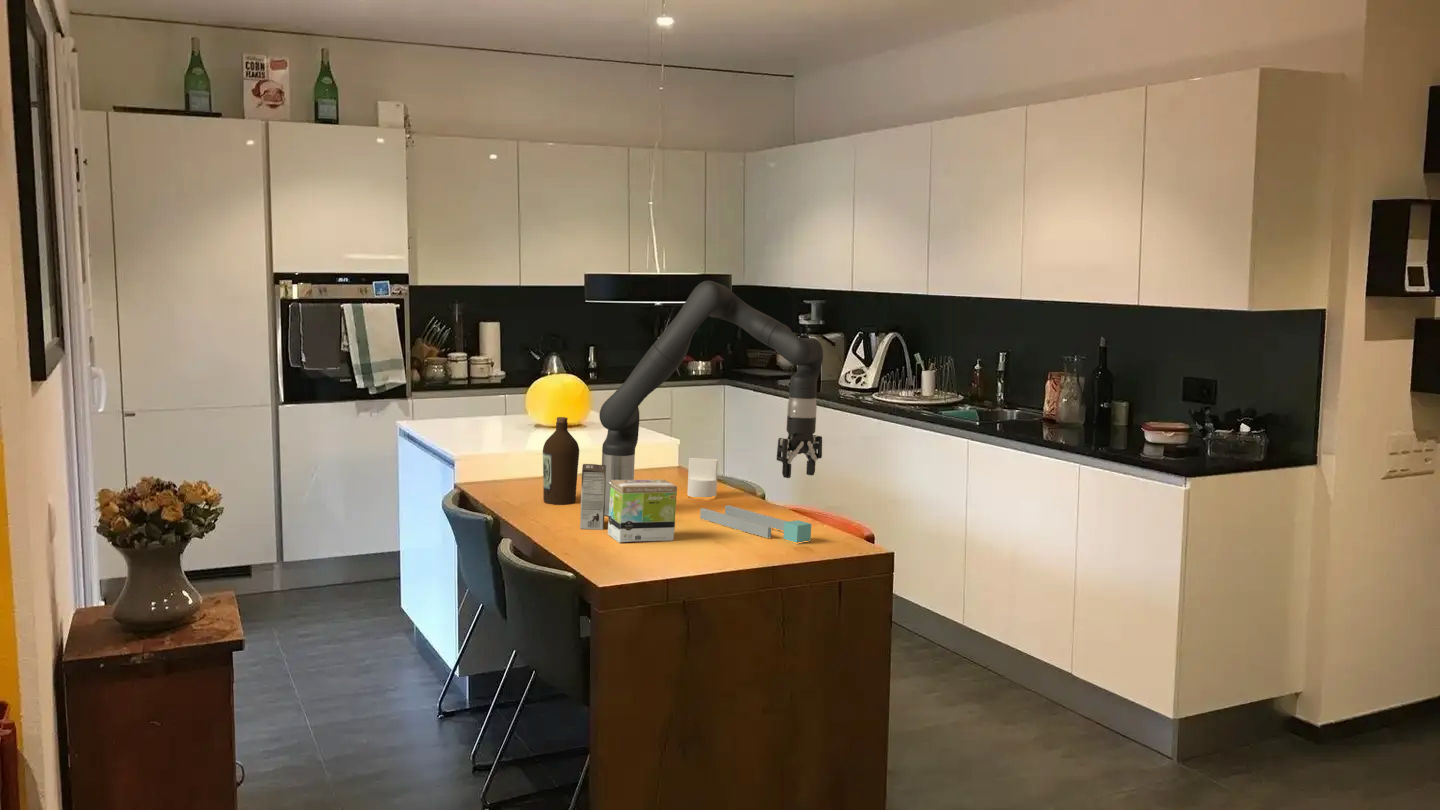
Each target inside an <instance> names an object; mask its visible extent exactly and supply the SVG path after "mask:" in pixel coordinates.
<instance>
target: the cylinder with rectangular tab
mask: <svg viewBox="0 0 1440 810" xmlns="http://www.w3.org/2000/svg"><path fill="white" fill-rule="evenodd" d="M718 463H719V460H718V459H717V458H702V457H689V458H688V469H687V471H688V472H687V473H688V475H687V476H688V477H687V492H686V493H687V495H688V496H691V497H712V496H716V497H717V488H718V487H717V485H718V469H719V468H718V467H719V466H718V465H719V464H718ZM687 495H686V496H687Z"/></svg>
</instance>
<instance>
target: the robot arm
mask: <svg viewBox="0 0 1440 810" xmlns="http://www.w3.org/2000/svg"><path fill="white" fill-rule="evenodd" d="M708 317H710V318H717V319H720V320H724V321H726V322H729V323H731V324H734V325H736V326H738V327H740V328H741V329H742V330H744V331H745V332H746V333H748V334H749V335H750V336H751V337H753V338H754V339H756V340H757V341H759V342H760V343H763V344H764V345H766V346H767V347H769V348H771V349H772V350H775V352H777V353H778V354H779V356H781V357H782V358H783V359H785V360H786V361H787V362H789V363H791V364H793V365H796V366H797V369H796V373H794V374H793V375H792V376H791V377H790V381H789V389H788V390H789V391H788V394H789V395H788V403H787V415H786V417H787V418H786V433H788V435H787V438H785V437H779V438H778V439H777V447H776V448H777V449H776V450H777V451H776V461H778V462H781V463H782V468H781V469H782V470H781V471H782V472H781V474H782V476H783V477H782V478H786V479H790V478H791V477H792V462H793V459H794V458H797V455H801V454H803V455H805V457H806V459H807V460H806V473H805V474H806V475H808V476H811V477H812V476H814V475H815V473H816V462H817V460H819V459H822V458H823V437H822V436H821V435H817V434H816V435H815V433H816V425H817V390H818V389H817V388H818V387H817V386H818V383H817V382H818V379H819V376H820V373H821V368H822V365H823V360H824V348H823V346H822V344H821V342H820V341H819V340H818V339H816V338H813V337H799V336H797V335H796V334H794V333H793V330H792V329H791V328H790V327H789V326H787V325H786V324H784V323H782V322H780V320H777V319H775V318H774V317H771V316H770V315H768V314H765V313H764V312H761V311H759V310H757V309H756V308H754V307H752V306H750V305H749V304H747V303H746V302H744V301H743V300H742V299H741V298H740V297H739V296H737V295H736V294H735V293H734V292H733V291H732V290H730V289H729V288H728V286H726V285H723V284H721V283H719V282H715V281H713V280H704V281H702V282H700V283H698V285H696V286H695V287H694V288H693V290H692V291H691V293H690V294H689V296H688V298H687V299H686V301H685V302H684V304H683V305H682V307H681V308H680V310H679V311H678V313H677V314H676V316H675V317H674V318H673V319H672V321H671V322H670V323H669V324H668V326H667V327H666V328H665V329H664V331H663V332H662V333H661V335H660V336H659V337H658V338H657V339H656V340H655V342H653V344H652V345H651V346H650V348H648V350H647V351H646V353H645V354H644V356H643V357H642V358H641V360H639V362H638V364H636V366H635V367H634V369H633V370H632V371H631V373H630V374H629V376H628V377H627V378H626V379H625V381H624V382H623V383H622V384H621V385H620V387H618V388H617V389H616V390H615V391H614V393H613V394H612V395H610V397H608V398H607V399H606V400H605V402H603V404H602V405H601V408H600V410H599V415H598V416H599V421H600V424H601V425H602V427H603V428H604V429H606V430H607V434H606V438H605V439H604V441H603V443H602V450H601V451H602V452H601V465H606V489H605V514H604V516H605V517H609V503H610V487H611V480H635V462H636V461H635V460H636V458H635V457H636V447H637V445H638V440H639V431H640V430H639V429H640V409H639V406H640V405H641V403H643V401H644V399H646V398H647V397H648V396H649V395H650V394H651V393H652V392H654V391H655V390H656V389H657V388H659V387H660V386H661V385H662V384H664V383H665V381H667V380H668V379H669V378H670V377H671V376H672V375H673V373H674V372H676V370H677V369H678V368H679V366H681V364H682V362H683V361H684V360H685V358H686V356H687V354H688V352H689V348H690V345H691V340H692V338H693V337H694V334H695V332H696V331H697V329H698V328H699V327H700V326H701V325H702V324H703V322H705V320H706V319H707V318H708Z"/></svg>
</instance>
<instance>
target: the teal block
mask: <svg viewBox="0 0 1440 810" xmlns="http://www.w3.org/2000/svg"><path fill="white" fill-rule="evenodd" d="M788 521H789V520H788ZM811 535H812V523H810V522H805V521H803V520H798V519H797V520H791V521H789V522H784V532H783V539H786V540H789V541H793V542H797V543H798V542H803V541H809V540H810V541H811V540H812V539H811V537H812V536H811Z"/></svg>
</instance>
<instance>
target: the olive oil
mask: <svg viewBox="0 0 1440 810" xmlns="http://www.w3.org/2000/svg"><path fill="white" fill-rule="evenodd" d="M555 424H556V425H555V431H553V433H552V434H550V436H549V437H548V438H547V439H545V442H544V444H543V447H542V470H543V471H542V473H543V475H542V476H543V477H542V481H543V484H542V485H543V486H542V487H543V503H546V504H548V505H549V504H550V505H562V506H565V505H572V504H575V503H576V500H577V485H578V483H577V482H578V471H579V461H580V460H579V458H580V447H579V443H578V441H577V440H576V439H575V438H574V437H573V435H572V434H571V433H570V432H569V429H568V427H569V426H568V425H569V422H568V417H565V416H559V417H558V416H557V417H556V422H555Z"/></svg>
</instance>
